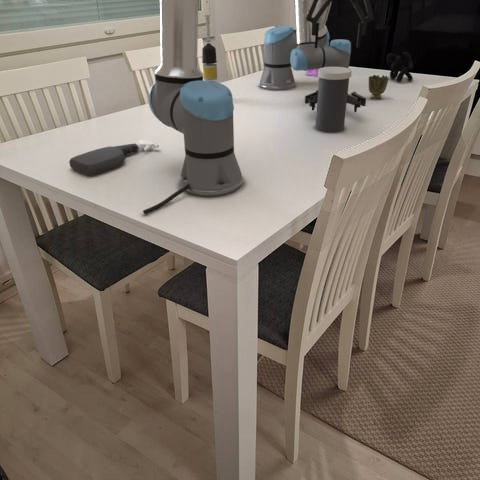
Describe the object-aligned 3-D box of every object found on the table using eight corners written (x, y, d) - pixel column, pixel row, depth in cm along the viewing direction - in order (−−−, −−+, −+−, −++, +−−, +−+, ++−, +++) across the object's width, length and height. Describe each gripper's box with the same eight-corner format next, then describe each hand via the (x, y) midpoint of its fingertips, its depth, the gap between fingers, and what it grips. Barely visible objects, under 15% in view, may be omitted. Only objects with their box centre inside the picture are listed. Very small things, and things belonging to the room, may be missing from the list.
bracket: (316, 75, 210) (317, 60, 207) (306, 74, 213) (306, 59, 209) (329, 71, 219) (330, 55, 215) (319, 69, 222) (320, 54, 218)
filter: (220, 99, 177) (217, 15, 161) (206, 100, 176) (202, 16, 160) (215, 96, 182) (212, 14, 166) (202, 97, 180) (197, 14, 164)
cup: (363, 99, 174) (366, 77, 170) (368, 94, 179) (371, 73, 175) (383, 101, 171) (386, 79, 167) (387, 96, 176) (390, 75, 172)
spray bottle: (67, 168, 120) (139, 144, 136) (91, 178, 114) (163, 151, 130) (65, 157, 118) (137, 134, 134) (89, 167, 112) (162, 142, 128)
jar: (318, 133, 141) (323, 75, 132) (312, 124, 149) (316, 68, 139) (347, 132, 142) (353, 74, 132) (339, 123, 149) (345, 68, 140)
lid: (321, 80, 132) (322, 74, 131) (314, 73, 141) (314, 67, 140) (355, 79, 132) (355, 73, 132) (346, 72, 141) (346, 66, 140)
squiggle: (400, 92, 202) (376, 71, 205) (417, 76, 202) (392, 56, 205) (405, 81, 191) (380, 59, 194) (423, 64, 191) (397, 42, 194)
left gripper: (300, -38, 119) (296, 49, 130) (392, -40, 116) (380, 49, 128) (300, -38, 125) (296, 45, 137) (387, -40, 123) (376, 45, 134)
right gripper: (370, 102, 161) (372, 120, 143) (301, 100, 166) (295, 117, 148) (373, 81, 157) (375, 96, 139) (302, 79, 162) (296, 94, 144)
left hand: (336, 47), depth 132 cm, fingers open, 12 cm apart
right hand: (334, 107), depth 144 cm, fingers open, 13 cm apart
